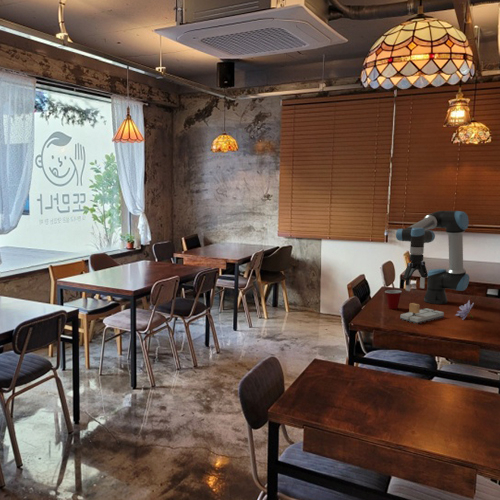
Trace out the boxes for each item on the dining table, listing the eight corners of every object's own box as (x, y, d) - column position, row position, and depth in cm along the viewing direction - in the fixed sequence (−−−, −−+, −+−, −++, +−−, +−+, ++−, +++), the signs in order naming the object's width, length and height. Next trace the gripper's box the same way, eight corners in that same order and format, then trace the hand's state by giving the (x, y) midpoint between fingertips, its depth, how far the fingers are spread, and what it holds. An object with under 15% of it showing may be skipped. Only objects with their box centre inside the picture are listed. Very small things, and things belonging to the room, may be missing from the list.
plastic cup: (389, 305, 310) (389, 288, 308) (404, 308, 302) (404, 290, 301) (380, 308, 302) (381, 290, 301) (396, 311, 295) (396, 293, 293)
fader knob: (408, 317, 275) (409, 303, 274) (412, 316, 276) (412, 302, 275) (416, 319, 271) (416, 305, 270) (419, 318, 272) (419, 304, 271)
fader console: (400, 319, 276) (400, 314, 275) (426, 313, 290) (426, 307, 290) (417, 324, 266) (417, 318, 266) (443, 317, 280) (443, 311, 280)
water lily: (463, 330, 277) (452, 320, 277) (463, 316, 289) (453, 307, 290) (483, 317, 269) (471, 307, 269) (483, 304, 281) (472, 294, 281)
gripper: (408, 256, 259) (407, 292, 261) (435, 253, 273) (433, 288, 275) (397, 254, 265) (396, 290, 267) (424, 251, 279) (422, 286, 281)
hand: (415, 289), depth 271 cm, fingers open, 13 cm apart
